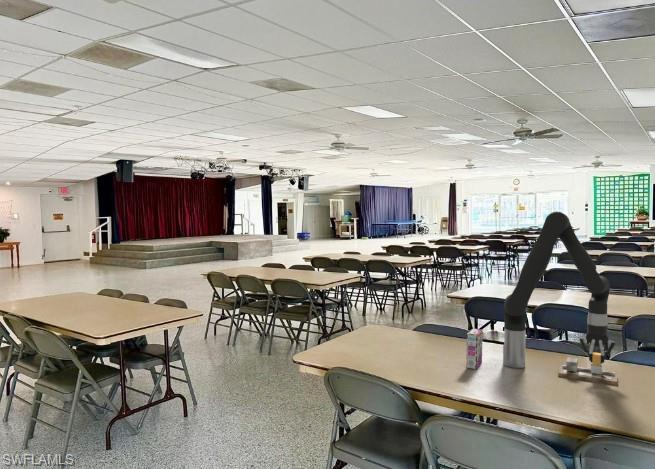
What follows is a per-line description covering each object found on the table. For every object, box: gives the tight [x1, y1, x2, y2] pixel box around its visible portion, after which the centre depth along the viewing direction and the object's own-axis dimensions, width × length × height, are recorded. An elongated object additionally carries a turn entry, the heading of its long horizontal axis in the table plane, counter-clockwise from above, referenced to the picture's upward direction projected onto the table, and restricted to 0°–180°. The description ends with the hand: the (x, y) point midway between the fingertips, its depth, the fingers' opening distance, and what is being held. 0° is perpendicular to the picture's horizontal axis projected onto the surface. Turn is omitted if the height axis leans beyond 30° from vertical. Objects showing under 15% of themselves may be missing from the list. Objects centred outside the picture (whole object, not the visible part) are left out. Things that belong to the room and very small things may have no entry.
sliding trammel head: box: [590, 351, 603, 375], centre depth 203 cm, size 4×6×9 cm, turn 149°
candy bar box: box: [465, 328, 484, 371], centre depth 220 cm, size 11×5×16 cm, turn 149°
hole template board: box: [557, 357, 618, 386], centre depth 204 cm, size 22×10×6 cm, turn 59°
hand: (596, 362), depth 202 cm, fingers closed on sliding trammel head, 3 cm apart
